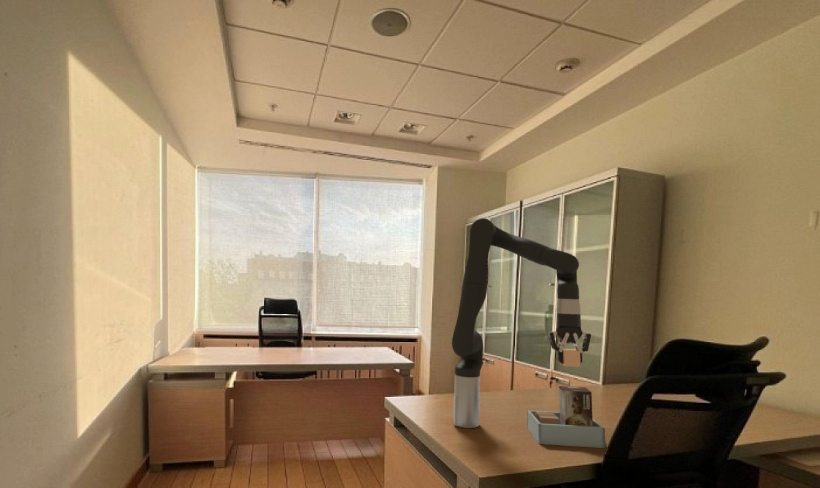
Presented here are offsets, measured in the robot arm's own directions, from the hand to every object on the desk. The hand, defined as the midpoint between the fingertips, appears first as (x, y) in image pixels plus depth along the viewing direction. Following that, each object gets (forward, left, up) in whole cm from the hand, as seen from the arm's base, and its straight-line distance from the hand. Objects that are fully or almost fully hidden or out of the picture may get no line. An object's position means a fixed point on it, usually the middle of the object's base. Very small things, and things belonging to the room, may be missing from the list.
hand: (570, 363), depth 126 cm
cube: (0, 0, 0) cm, 1 cm away
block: (-7, +3, -24) cm, 25 cm away
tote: (-1, +3, -25) cm, 25 cm away
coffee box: (+3, +3, -25) cm, 25 cm away
